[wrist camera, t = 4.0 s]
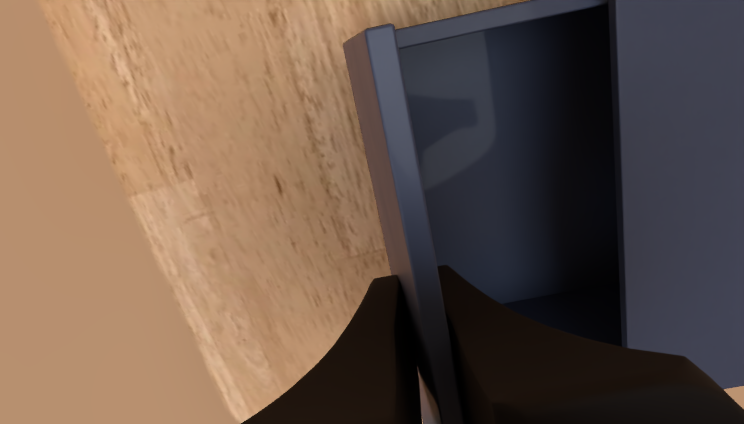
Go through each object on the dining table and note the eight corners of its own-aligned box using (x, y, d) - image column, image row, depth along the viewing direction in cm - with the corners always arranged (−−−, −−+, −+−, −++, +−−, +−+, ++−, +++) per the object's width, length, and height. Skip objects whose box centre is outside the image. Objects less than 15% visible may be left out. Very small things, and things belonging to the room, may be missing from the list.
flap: (507, 661, 10) (489, 665, 10) (438, 436, 16) (426, 439, 16) (395, 22, 6) (364, 29, 6) (357, 39, 12) (342, 43, 12)
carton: (685, 272, 22) (829, 372, 15) (411, 323, 23) (433, 442, 16) (688, -31, 18) (887, -79, 11) (353, 42, 19) (349, 38, 12)
